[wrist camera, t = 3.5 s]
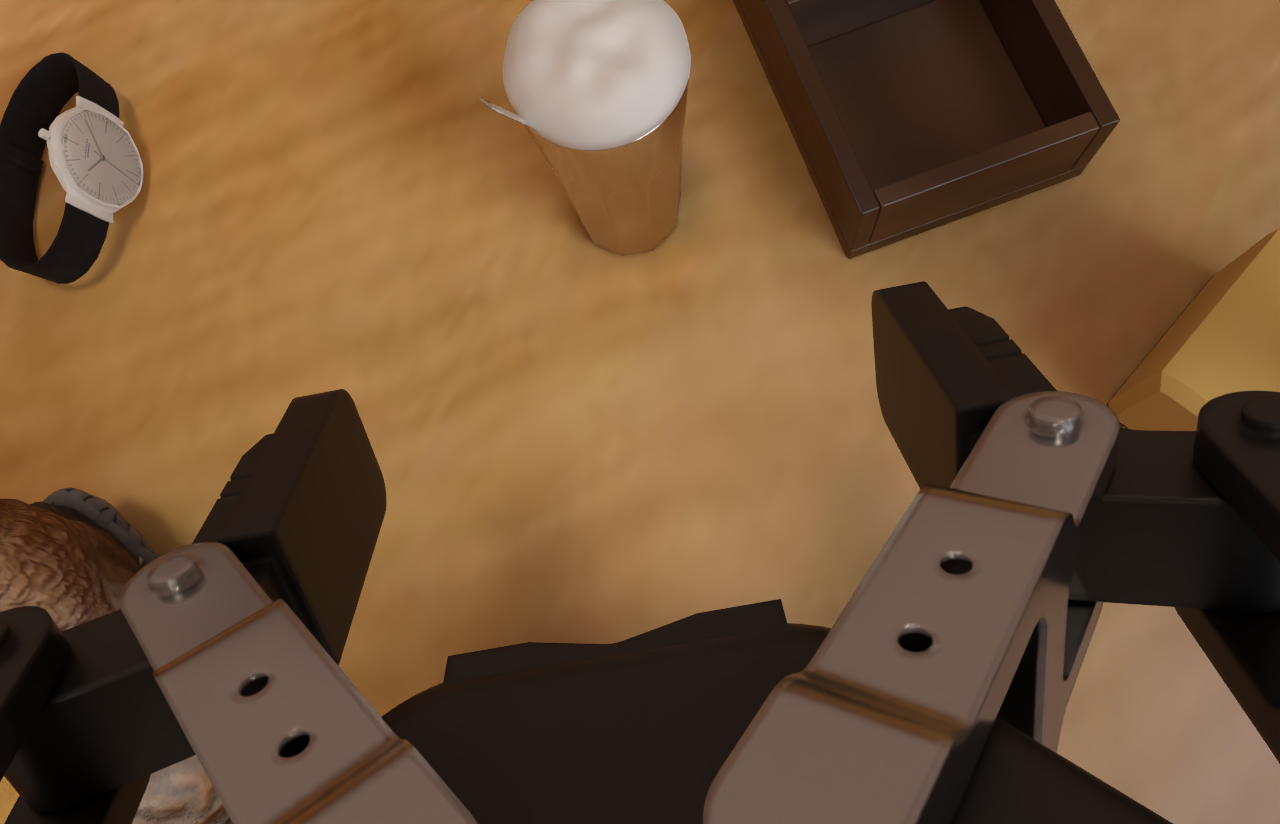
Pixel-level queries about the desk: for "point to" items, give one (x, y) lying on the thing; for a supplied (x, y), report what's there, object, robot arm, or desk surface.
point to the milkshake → (605, 110)
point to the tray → (928, 105)
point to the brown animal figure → (92, 609)
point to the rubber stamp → (1211, 347)
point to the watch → (64, 166)
